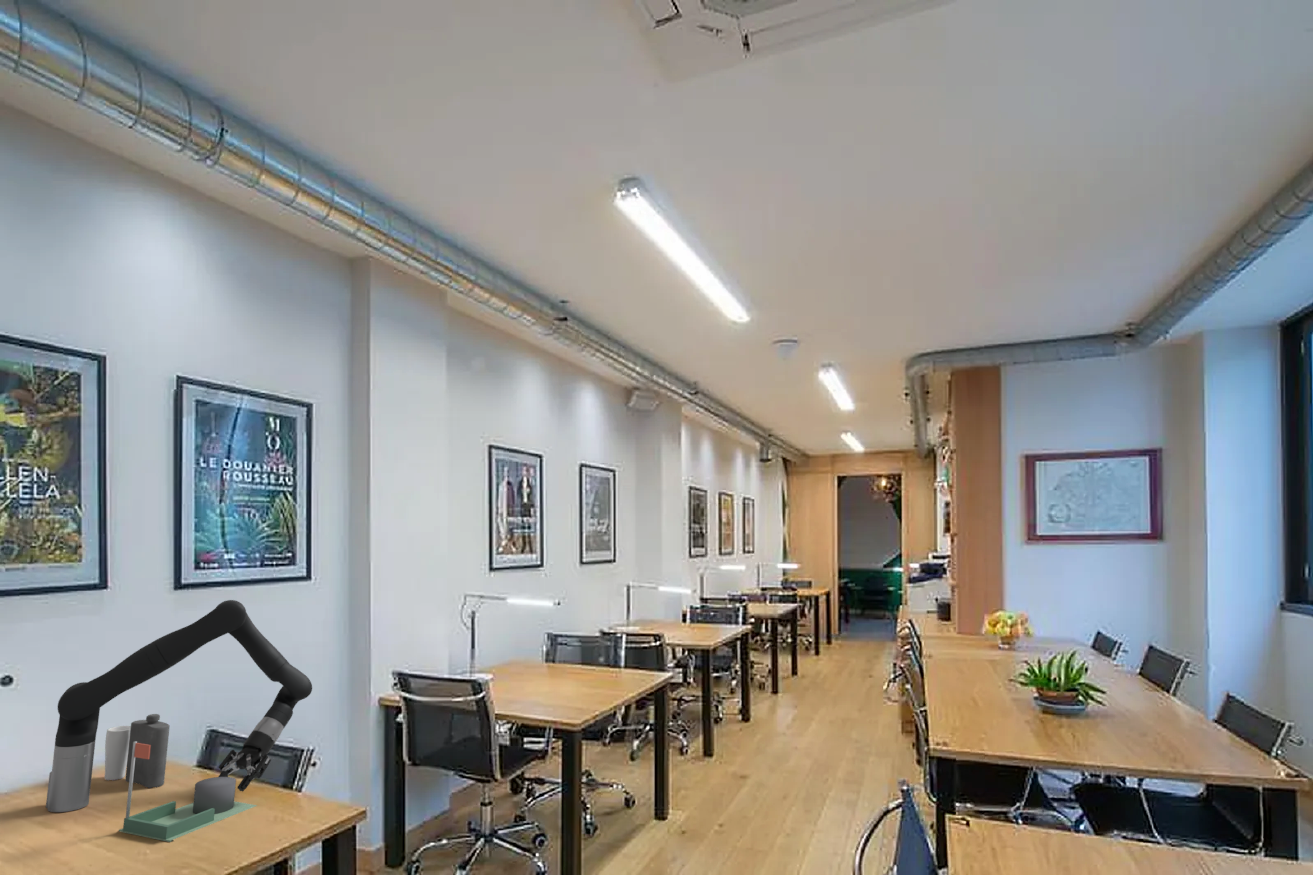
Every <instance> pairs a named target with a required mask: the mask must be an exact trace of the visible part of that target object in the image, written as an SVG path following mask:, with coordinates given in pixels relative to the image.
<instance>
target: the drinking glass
mask: <svg viewBox="0 0 1313 875" xmlns="http://www.w3.org/2000/svg"><path fill="white" fill-rule="evenodd" d="M130 729H131V725H118V726H113V727H110V728H108V729H106V734H105V740H104V741H105V743H104V744H105V745H104V750H105V751H104V752H105V753H104V758H105V760H104V776H103V777H104V780H105V781H109V780H112V781H118V779H119V780H122V779H124V778H126V768H127V759H128V749H129V739H130Z"/></svg>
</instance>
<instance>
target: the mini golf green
mask: <svg viewBox="0 0 1313 875" xmlns="http://www.w3.org/2000/svg"><path fill="white" fill-rule="evenodd" d="M150 747H151V745H147V744H141V743H137V741H135V742H133V750H132V760H131V769H130V779H129V782H128V790H127V801H126V808H125V809H126V812H125V817H124V818H123V827H122V828H120V829H118V832H120V833H123V834H124V833H125V834H129V835H133V836H138V837H145V838H147V839H154V840H158V841H164V842H168V843H172V842H174V840H176V839H178V838H180V837H183V836H186V835H188V834H190V833H193V832H195V831H198V830H200V829H203V828H206V827H208V826H210V825H212V824H215V823H217V822H221V821H222V820H225V819H228V818H230V817H233V816H235V815H237V814H240V813H243V812H245V811H247V810H249V809H252V808H255V807H258V805H257V804H252V803H251V804H250V803H246V802H240V801H235V800H234V807H233V808H232V809H230V810H228V811H226V812H223V813H219V814H214V812H215V809H214V808H211V809H209V810H206V811H203V812H201V813H198V814H194V813H193V803H194V802H190V803H188V804H186V805H183V806H180V807H178V808H176V806H177V800H176V801H174V800H172V801H170V802H167V803H164V804H161V805H158V806H155V807H153V808H149V809H148V810H144V811H141V812H138V813H136V814H133V815H131V814H130V813H131V803H132V795H133V784H134V783H133V776H134V766H135V757H137V758H143V759H149V757H150Z"/></svg>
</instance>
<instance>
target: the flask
mask: <svg viewBox="0 0 1313 875" xmlns="http://www.w3.org/2000/svg"><path fill="white" fill-rule="evenodd" d="M160 718H161V715H160V714H159V713H151V714H148V715H147V716H146V719H138V720H134V721H132V722H131V723H130V726H131V729H130V739H129V749H128V759H127V766H126V773H125V777H124V779H125V782H126V783H129V779H130V769H131V760H132V750H133V742H135V741H137V743H141V744H147V745H151V747H150V757H149V759H143V758H137V757H135V766H134V776H133V784H136V783H137V785H139V786H143V787H145V788H146V787H148V788H147V789H153V788H152V787H156V788H160V787H162V786H163V785H164V784H165V779H166V778H165V776H166V769H167V768H166V766H167V757H168V756H167V755H168V748H169V747H168V746H169V745H168V744H169V735H170V724H168V723H167V722H163V721H160Z"/></svg>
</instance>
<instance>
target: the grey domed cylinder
mask: <svg viewBox="0 0 1313 875" xmlns="http://www.w3.org/2000/svg"><path fill="white" fill-rule="evenodd" d="M236 782H237V779H236V778H234V777H231V776H228V777H218V776H216V777H210V778H205V779H202V780H201V779H200V780H199V781H197V782H195V784H194V793H193V802H192V803H193V813H194V814H198V813H201V812H203V811H206V810H209V809H211V808H214V809H215V812H214V814H219V813H223V812H226V811H228V810H230V809H232V808H233V807H234V801H235V796H236V784H237V783H236Z"/></svg>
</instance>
